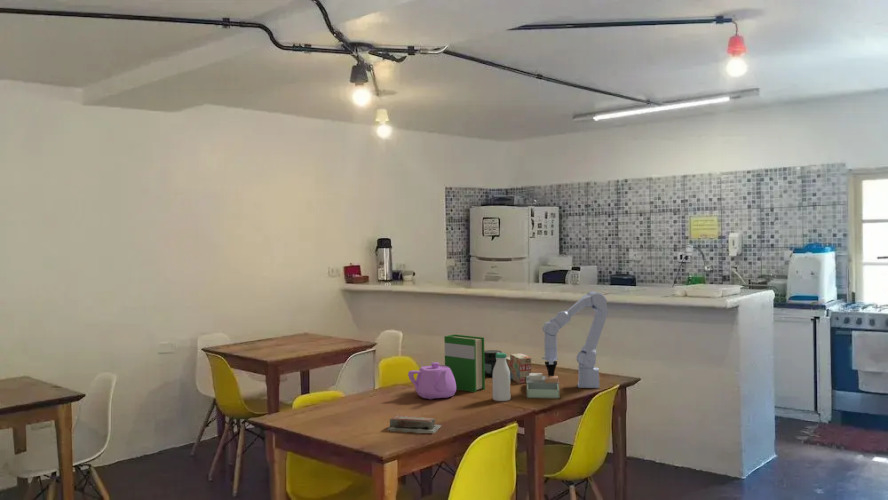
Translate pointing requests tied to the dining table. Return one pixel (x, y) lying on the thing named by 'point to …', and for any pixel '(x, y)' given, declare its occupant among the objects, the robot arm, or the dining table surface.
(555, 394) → the tray
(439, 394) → the teapot
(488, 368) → the supplement container
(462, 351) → the hardback book
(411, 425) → the packaged product
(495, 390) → the milk bottle
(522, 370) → the printed cardboard box
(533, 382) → the board
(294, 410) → the dining table surface
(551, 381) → the terracotta tile
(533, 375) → the cream tile
